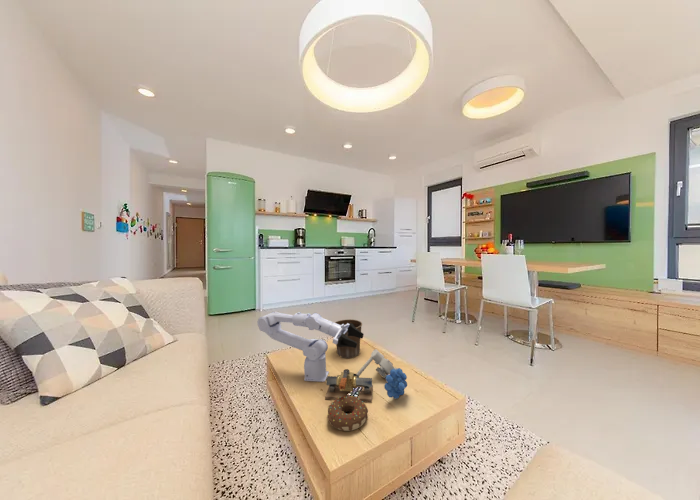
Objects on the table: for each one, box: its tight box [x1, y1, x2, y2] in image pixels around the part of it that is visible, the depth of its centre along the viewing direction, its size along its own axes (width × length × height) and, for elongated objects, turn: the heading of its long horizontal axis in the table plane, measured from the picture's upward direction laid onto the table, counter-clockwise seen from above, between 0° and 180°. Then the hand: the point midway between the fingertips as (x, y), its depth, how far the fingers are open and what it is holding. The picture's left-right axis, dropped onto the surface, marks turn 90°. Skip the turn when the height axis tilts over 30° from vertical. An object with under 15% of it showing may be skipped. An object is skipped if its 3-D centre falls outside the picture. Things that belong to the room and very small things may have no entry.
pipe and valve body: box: [325, 371, 373, 394], centre depth 100 cm, size 18×5×6 cm, turn 82°
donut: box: [326, 396, 369, 432], centre depth 86 cm, size 14×14×5 cm
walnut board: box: [324, 384, 374, 403], centre depth 100 cm, size 18×9×1 cm, turn 82°
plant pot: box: [333, 319, 363, 359], centre depth 136 cm, size 16×16×16 cm
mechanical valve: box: [354, 348, 398, 379], centre depth 110 cm, size 10×18×15 cm
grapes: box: [383, 368, 408, 400], centre depth 95 cm, size 12×7×12 cm, turn 126°
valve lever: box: [339, 368, 350, 389], centre depth 96 cm, size 11×2×2 cm, turn 172°
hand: (359, 340), depth 105 cm, fingers open, 7 cm apart
